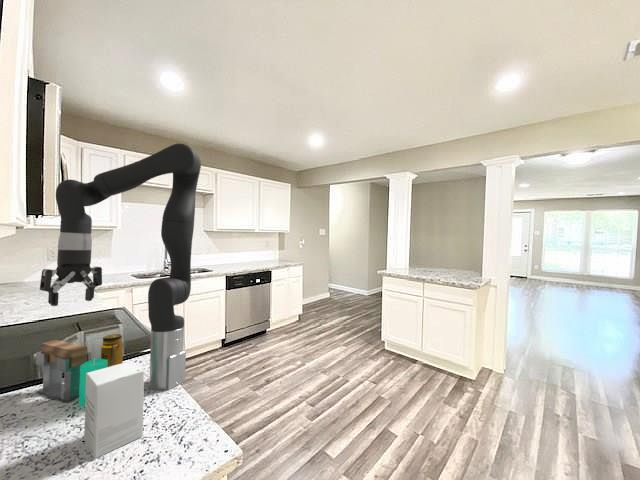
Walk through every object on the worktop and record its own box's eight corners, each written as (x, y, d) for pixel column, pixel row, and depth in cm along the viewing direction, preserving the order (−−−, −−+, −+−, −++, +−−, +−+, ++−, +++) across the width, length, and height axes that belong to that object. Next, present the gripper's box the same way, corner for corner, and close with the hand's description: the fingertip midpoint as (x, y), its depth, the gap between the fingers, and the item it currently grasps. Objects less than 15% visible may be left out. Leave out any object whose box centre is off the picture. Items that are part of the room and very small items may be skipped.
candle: (90, 408, 74) (92, 362, 74) (72, 405, 75) (74, 360, 75) (112, 396, 79) (113, 354, 80) (94, 393, 81) (96, 352, 81)
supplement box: (130, 420, 69) (132, 359, 69) (143, 436, 63) (145, 369, 63) (82, 440, 62) (85, 371, 62) (93, 460, 56) (95, 384, 56)
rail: (86, 362, 80) (87, 346, 80) (72, 367, 76) (73, 350, 77) (55, 354, 85) (56, 339, 85) (40, 358, 82) (41, 343, 82)
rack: (90, 393, 81) (91, 352, 81) (64, 404, 75) (65, 360, 75) (60, 384, 86) (62, 345, 86) (34, 394, 80) (36, 352, 80)
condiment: (94, 373, 93) (95, 337, 94) (119, 363, 101) (120, 330, 102) (108, 377, 91) (109, 340, 91) (133, 367, 99) (134, 333, 99)
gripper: (52, 248, 75) (48, 309, 74) (109, 248, 88) (106, 300, 88) (36, 247, 77) (33, 306, 77) (94, 248, 91) (91, 297, 90)
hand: (72, 303), depth 82 cm, fingers open, 8 cm apart
